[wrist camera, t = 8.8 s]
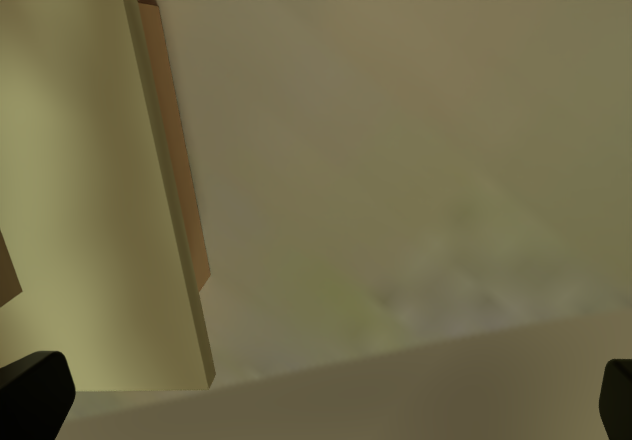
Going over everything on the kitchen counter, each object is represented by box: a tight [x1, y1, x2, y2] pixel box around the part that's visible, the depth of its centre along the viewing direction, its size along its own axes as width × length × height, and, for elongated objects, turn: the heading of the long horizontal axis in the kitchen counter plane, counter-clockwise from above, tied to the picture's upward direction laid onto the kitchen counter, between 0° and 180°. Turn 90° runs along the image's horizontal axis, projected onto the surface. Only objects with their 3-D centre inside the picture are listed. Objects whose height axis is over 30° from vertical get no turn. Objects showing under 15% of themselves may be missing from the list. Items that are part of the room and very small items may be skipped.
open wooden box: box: [138, 3, 211, 292], centre depth 17 cm, size 11×11×5 cm
